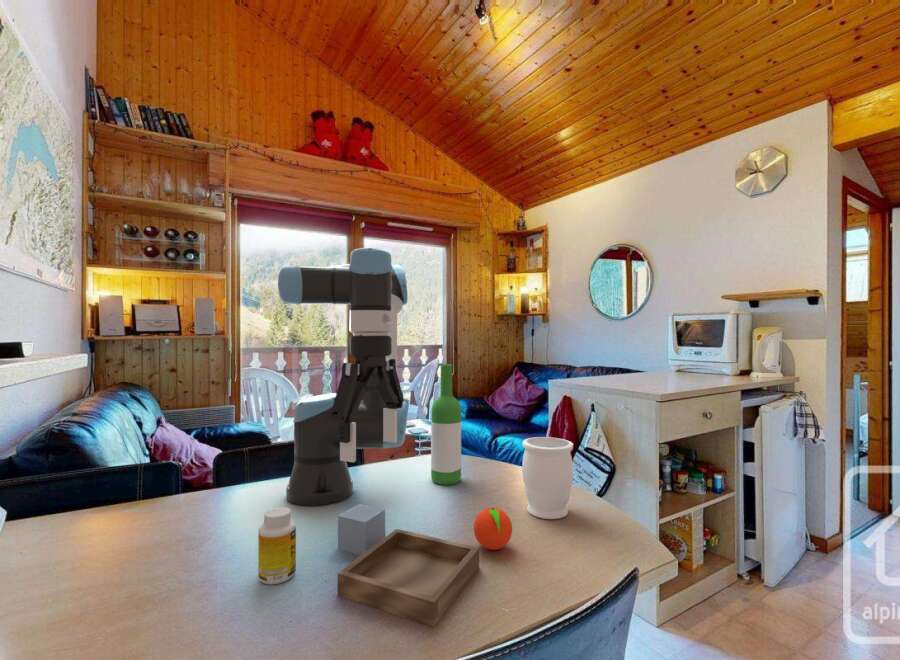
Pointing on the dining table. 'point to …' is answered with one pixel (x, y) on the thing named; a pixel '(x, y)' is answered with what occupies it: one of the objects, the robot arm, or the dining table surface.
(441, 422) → the wine bottle
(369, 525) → the grey cube
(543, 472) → the jar
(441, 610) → the walnut tray
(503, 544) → the clementine
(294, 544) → the supplement bottle
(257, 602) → the dining table surface
